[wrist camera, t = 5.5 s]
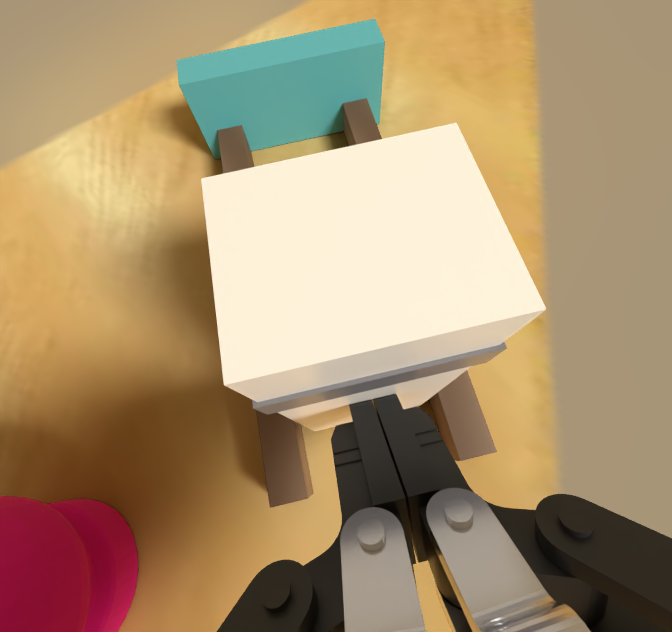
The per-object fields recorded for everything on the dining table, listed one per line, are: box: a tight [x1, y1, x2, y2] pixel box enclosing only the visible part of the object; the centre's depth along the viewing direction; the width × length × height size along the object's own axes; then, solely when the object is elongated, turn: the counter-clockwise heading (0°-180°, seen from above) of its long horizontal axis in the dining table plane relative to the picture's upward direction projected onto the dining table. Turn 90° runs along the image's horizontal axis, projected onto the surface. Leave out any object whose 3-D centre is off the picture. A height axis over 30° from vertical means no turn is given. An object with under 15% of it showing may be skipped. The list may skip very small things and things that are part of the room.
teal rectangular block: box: [177, 19, 385, 159], centre depth 21 cm, size 11×2×5 cm, turn 103°
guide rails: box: [217, 98, 497, 508], centre depth 19 cm, size 9×22×2 cm, turn 13°
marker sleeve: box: [201, 123, 546, 431], centre depth 12 cm, size 5×4×12 cm
